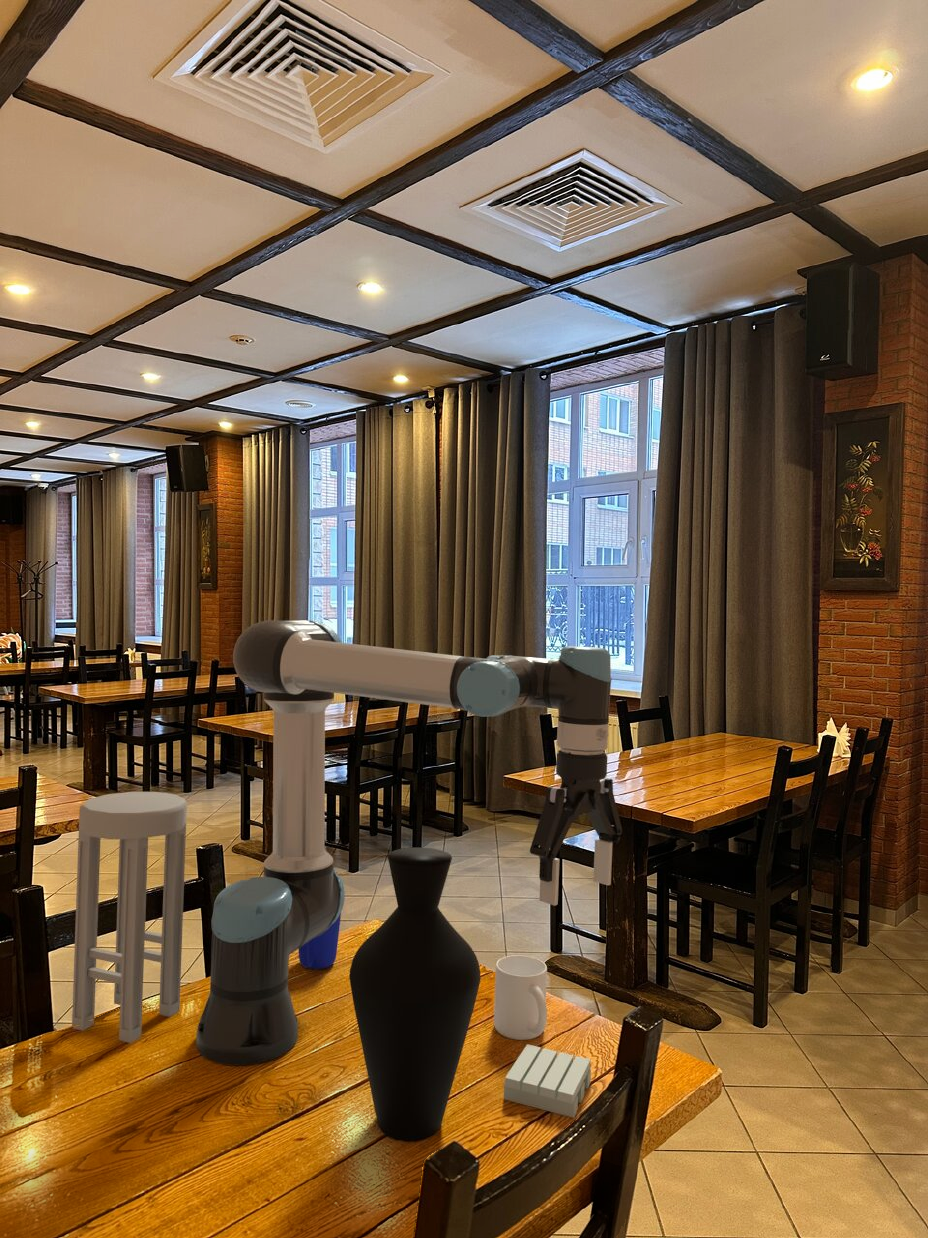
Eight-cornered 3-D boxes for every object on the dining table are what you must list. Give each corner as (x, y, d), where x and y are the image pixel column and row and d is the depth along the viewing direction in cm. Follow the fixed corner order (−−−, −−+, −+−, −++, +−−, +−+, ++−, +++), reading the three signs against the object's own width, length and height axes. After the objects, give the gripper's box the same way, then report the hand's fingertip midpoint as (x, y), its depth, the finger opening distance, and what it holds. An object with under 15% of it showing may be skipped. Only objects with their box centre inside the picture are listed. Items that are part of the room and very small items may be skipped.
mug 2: (566, 1047, 132) (568, 982, 132) (519, 1057, 128) (521, 989, 128) (529, 1013, 143) (531, 952, 143) (485, 1021, 139) (487, 959, 139)
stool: (122, 990, 145) (129, 787, 145) (197, 1008, 140) (205, 797, 140) (51, 1031, 131) (58, 805, 130) (131, 1052, 125) (140, 817, 125)
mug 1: (280, 979, 152) (282, 924, 152) (304, 953, 164) (306, 901, 164) (324, 984, 151) (326, 928, 151) (344, 957, 163) (346, 905, 162)
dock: (502, 1100, 117) (503, 1077, 117) (525, 1065, 126) (525, 1044, 126) (573, 1119, 113) (574, 1095, 113) (590, 1081, 122) (591, 1059, 122)
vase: (355, 1082, 120) (364, 836, 120) (475, 1089, 119) (485, 841, 119) (332, 1160, 103) (343, 873, 103) (473, 1168, 102) (484, 880, 102)
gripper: (551, 763, 114) (545, 919, 115) (648, 746, 133) (642, 881, 133) (509, 754, 119) (502, 904, 120) (607, 740, 138) (602, 870, 138)
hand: (576, 892), depth 126 cm, fingers open, 13 cm apart
